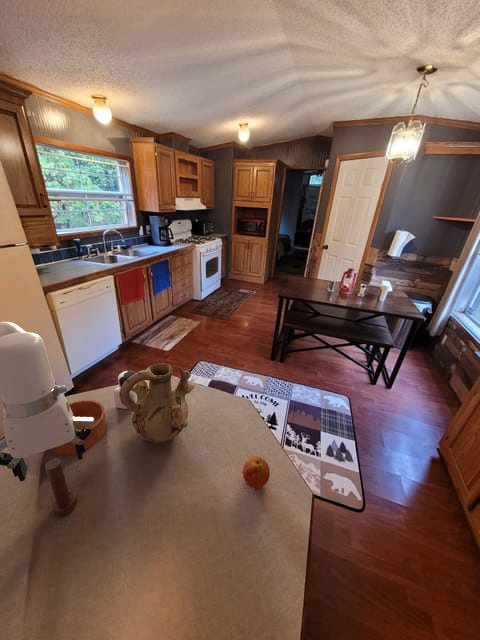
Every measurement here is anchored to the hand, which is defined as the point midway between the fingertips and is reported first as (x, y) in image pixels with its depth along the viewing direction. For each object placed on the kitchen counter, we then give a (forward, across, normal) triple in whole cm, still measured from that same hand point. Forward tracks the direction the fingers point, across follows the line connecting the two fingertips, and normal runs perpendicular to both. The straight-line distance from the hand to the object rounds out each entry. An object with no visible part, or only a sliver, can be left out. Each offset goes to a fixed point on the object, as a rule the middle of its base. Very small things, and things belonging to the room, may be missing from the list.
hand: (53, 464), depth 53 cm
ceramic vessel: (+14, -26, -10) cm, 31 cm away
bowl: (+14, -3, -22) cm, 26 cm away
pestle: (+14, 0, 0) cm, 14 cm away
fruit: (+15, -42, +16) cm, 47 cm away
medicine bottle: (+14, -19, -29) cm, 38 cm away
